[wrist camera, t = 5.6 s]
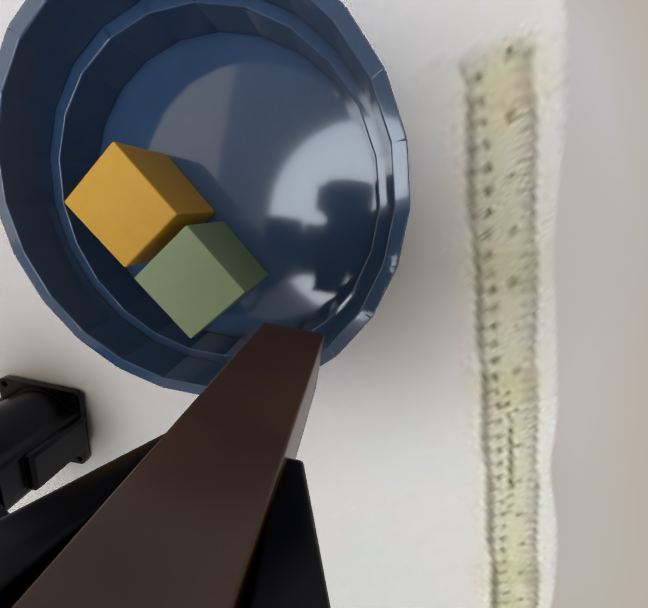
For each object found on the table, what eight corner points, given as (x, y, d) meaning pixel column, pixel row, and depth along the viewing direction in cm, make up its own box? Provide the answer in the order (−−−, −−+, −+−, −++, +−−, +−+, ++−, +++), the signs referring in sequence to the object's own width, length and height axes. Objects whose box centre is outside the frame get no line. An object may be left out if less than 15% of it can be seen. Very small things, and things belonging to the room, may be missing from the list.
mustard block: (171, 256, 20) (124, 268, 16) (123, 202, 19) (62, 202, 15) (216, 212, 19) (176, 213, 15) (166, 153, 18) (112, 140, 14)
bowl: (100, 322, 22) (19, 358, 17) (75, -5, 17) (-56, -99, 12) (364, 372, 21) (363, 428, 16) (432, 32, 15) (466, -57, 10)
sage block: (223, 313, 20) (190, 339, 17) (178, 264, 20) (133, 278, 16) (269, 274, 19) (245, 292, 15) (223, 220, 19) (186, 224, 15)
